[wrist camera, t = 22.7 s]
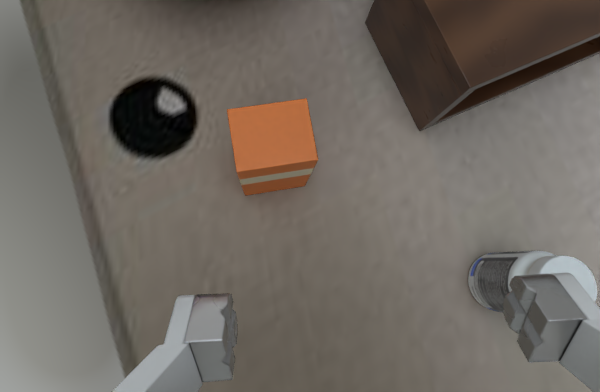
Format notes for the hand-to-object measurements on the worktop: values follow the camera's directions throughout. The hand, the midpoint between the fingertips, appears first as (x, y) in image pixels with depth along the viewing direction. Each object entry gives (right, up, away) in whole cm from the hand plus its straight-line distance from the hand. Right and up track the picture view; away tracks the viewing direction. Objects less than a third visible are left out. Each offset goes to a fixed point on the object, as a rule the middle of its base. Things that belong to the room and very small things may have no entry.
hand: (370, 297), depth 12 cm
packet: (-4, +5, +22) cm, 23 cm away
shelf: (+15, +18, +25) cm, 34 cm away
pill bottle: (+14, -4, +22) cm, 26 cm away
